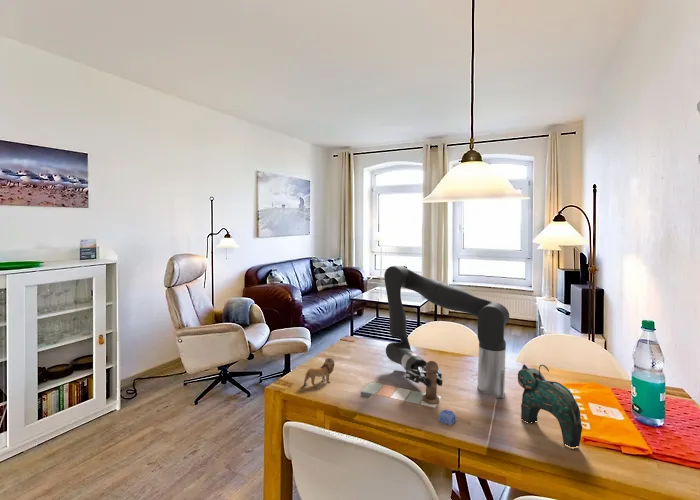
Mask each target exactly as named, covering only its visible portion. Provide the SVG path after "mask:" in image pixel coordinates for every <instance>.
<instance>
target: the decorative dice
mask: <svg viewBox="0 0 700 500" xmlns="http://www.w3.org/2000/svg"><path fill="white" fill-rule="evenodd" d="M456 421H457V416H456V414H455V413H454V411H452V410H449V409H442V410H441V411H440V412H439V415H438V422H440V423H442V424H445V425H448V426H452V425H453V424H454V423H455V422H456Z"/></svg>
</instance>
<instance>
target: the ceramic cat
mask: <svg viewBox="0 0 700 500" xmlns="http://www.w3.org/2000/svg"><path fill="white" fill-rule="evenodd" d="M541 367H544V369H545V370H546V371H547V373H548V372H550V371H549V368H548V367H547V366H546V365H545V364H540V365H539V367H538V369H537V368H533V367H530V368H528V366H527V365H526V364H523V365H522V368H521V369H520V370H519V371H518V373H517V382H518V385H519V386H520V387H521V388H523V393H522V397H521V404H520V408H521V409H520V410H521V414H520V420H521V419H523V420H524V421H526V422H528V423H531V422H535V421H537V422H538V414H539V412H540V411H541V410H542V411H546V412H548V413H550V414H551V415H552V416H554V418H555V419H556V420H557V422H558V424H559V427H560V430H561V436H562V442H563V443H564V444H566V445H568V446H570V447H576V446H579V447H580V445H581V444H580V443H581V438H582V432H583V424H582V419H581V418H582V417H581V411H580V407H579V404H578V403H577V400H576V399H575V397H574V395H573V394H572V392H571V391H570V389H568V388H567V387H566V386H565V385H563V384H561V383H560V382H559V381H551V380H548V379H547V380H546V379H545V378H546V377H544V375H543V374H542V373H541ZM523 420H522V421H523ZM524 421H523V422H524ZM526 422H525V423H526ZM528 423H527V424H528ZM563 443H562V444H563Z"/></svg>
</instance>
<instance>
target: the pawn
mask: <svg viewBox="0 0 700 500" xmlns="http://www.w3.org/2000/svg"><path fill="white" fill-rule="evenodd" d="M426 362H427V363H426V366H425V369H426V377H427V378H428V379H429V380H430V381H431V387H428V386H426V385H425V393H426V394H425V395H423V399H422V401H424V402H425V403H428V404H437V405H438V404H439V403H440V400H439V397H438V396H439V395H437V392H438V391H437V390H438V388H437V386H438V384H437V371H438V368H439V365H438V363H437V362H436V361H433V360H429V361H426Z"/></svg>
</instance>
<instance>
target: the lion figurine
mask: <svg viewBox="0 0 700 500" xmlns="http://www.w3.org/2000/svg"><path fill="white" fill-rule="evenodd" d="M334 369H335V360H334V358H333V357H330V356H328V357H326V358H325V359H324V362H323V365H322V366H319V367H310V368H308V370H307V371H306V373H305V377H304V381H303V386H302V387H303V388H305V387H306V386H308V383H307V381H308V380H309V379H311V382H310V383H311V385H312V387H317V386H318V385H317V384H316V383H315V379H316V377H318V378H321V380H322V381H323V382H326V383H327V384H330V383H331V381H330V374H332V373H333V372H334ZM325 377H326V379H325Z"/></svg>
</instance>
